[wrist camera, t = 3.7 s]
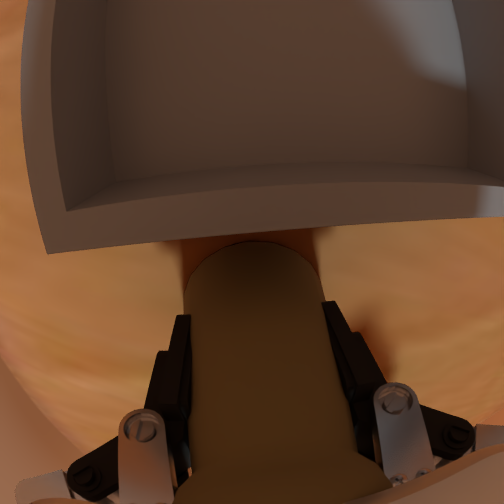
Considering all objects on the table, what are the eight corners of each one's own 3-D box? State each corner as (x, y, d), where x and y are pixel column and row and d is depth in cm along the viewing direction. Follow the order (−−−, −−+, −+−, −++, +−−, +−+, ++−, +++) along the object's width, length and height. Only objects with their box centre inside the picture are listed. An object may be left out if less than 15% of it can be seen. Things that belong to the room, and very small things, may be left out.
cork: (155, 302, 12) (87, 571, 2) (263, 209, 11) (388, 600, 1) (247, 373, 14) (266, 585, 4) (346, 307, 13) (454, 533, 3)
